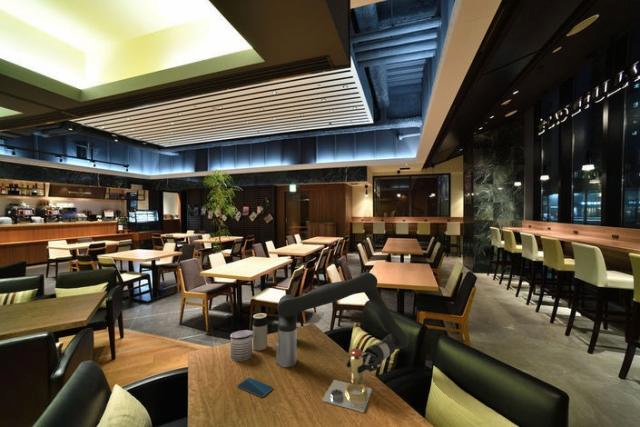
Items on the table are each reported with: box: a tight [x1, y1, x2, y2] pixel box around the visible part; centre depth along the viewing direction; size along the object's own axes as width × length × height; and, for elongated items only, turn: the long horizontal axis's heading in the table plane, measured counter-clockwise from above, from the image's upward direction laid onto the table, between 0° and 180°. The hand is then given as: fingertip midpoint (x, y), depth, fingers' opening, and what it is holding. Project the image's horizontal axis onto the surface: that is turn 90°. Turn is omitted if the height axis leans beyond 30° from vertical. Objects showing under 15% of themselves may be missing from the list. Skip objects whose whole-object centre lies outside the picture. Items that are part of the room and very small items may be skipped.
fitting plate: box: [321, 379, 373, 414], centre depth 113 cm, size 17×14×2 cm
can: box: [229, 329, 253, 362], centre depth 146 cm, size 11×11×12 cm
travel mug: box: [252, 312, 268, 352], centre depth 154 cm, size 8×8×18 cm
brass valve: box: [349, 348, 364, 385], centre depth 114 cm, size 5×5×12 cm
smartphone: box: [236, 377, 274, 399], centre depth 118 cm, size 8×15×1 cm, turn 60°
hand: (352, 367), depth 112 cm, fingers closed on brass valve, 5 cm apart
